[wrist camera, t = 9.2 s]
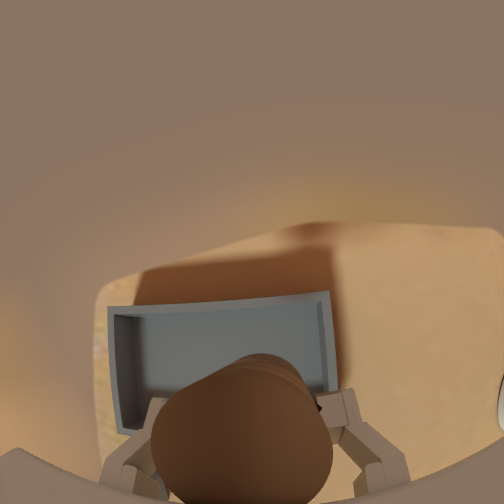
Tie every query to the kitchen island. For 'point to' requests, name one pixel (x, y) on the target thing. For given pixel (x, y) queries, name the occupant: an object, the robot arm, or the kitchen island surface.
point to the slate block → (162, 490)
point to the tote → (213, 346)
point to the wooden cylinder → (243, 437)
